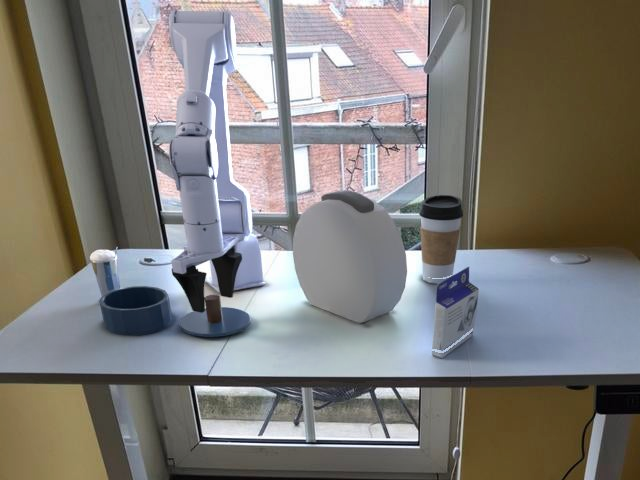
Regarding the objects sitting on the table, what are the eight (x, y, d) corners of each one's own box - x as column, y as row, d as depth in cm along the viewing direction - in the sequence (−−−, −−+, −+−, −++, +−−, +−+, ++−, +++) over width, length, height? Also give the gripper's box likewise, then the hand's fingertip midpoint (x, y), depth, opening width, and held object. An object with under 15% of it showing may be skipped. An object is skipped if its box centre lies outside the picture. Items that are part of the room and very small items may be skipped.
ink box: (443, 360, 117) (448, 288, 110) (430, 356, 118) (434, 285, 111) (475, 335, 124) (481, 267, 118) (463, 332, 125) (468, 265, 118)
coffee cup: (465, 276, 148) (472, 198, 139) (445, 289, 142) (450, 208, 133) (429, 269, 151) (433, 192, 142) (408, 280, 146) (411, 201, 137)
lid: (194, 310, 132) (190, 282, 129) (259, 315, 130) (256, 287, 127) (169, 337, 122) (164, 308, 119) (239, 342, 121) (236, 312, 118)
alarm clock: (406, 318, 130) (409, 200, 118) (377, 330, 126) (378, 209, 114) (323, 288, 142) (320, 178, 130) (294, 298, 137) (287, 185, 125)
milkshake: (122, 306, 133) (110, 250, 127) (95, 304, 134) (82, 248, 128) (134, 298, 136) (123, 243, 130) (107, 295, 137) (95, 241, 131)
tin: (145, 305, 133) (141, 281, 131) (185, 321, 128) (181, 296, 125) (92, 323, 126) (86, 298, 124) (131, 341, 121) (126, 315, 118)
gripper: (211, 206, 122) (220, 286, 131) (150, 227, 112) (165, 313, 120) (245, 212, 120) (253, 293, 128) (187, 234, 110) (199, 321, 118)
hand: (213, 303), depth 124 cm, fingers open, 7 cm apart
